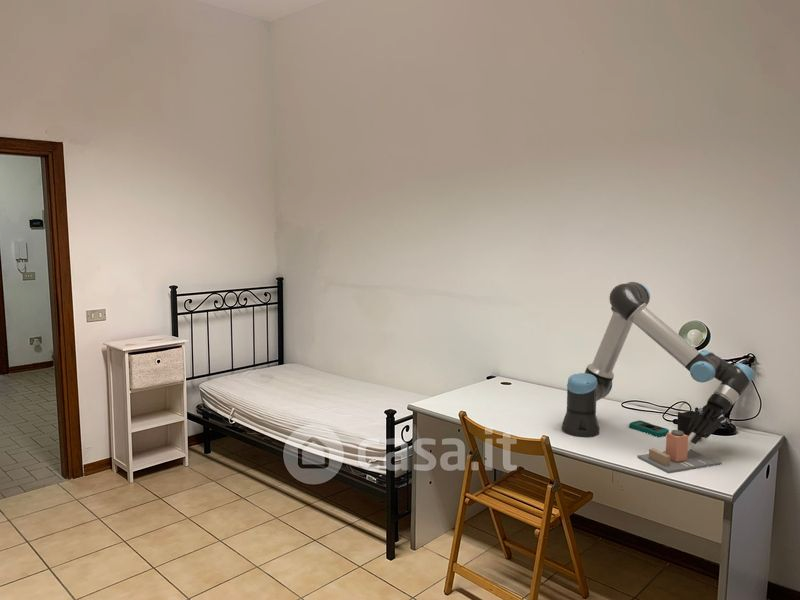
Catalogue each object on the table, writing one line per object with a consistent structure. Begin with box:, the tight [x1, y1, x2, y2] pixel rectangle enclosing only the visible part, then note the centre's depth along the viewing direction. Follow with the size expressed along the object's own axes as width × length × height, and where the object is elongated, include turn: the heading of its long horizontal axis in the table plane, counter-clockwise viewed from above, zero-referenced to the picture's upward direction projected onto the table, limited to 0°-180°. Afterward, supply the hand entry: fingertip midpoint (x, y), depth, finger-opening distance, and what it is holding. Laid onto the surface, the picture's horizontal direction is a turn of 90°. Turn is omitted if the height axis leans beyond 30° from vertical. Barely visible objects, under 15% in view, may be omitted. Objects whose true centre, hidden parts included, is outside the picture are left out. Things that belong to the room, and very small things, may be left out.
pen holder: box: [676, 410, 702, 441], centre depth 234 cm, size 9×9×10 cm
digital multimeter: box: [628, 419, 670, 438], centre depth 243 cm, size 7×15×3 cm, turn 31°
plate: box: [636, 448, 722, 474], centre depth 210 cm, size 24×15×4 cm, turn 109°
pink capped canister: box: [665, 429, 688, 462], centre depth 210 cm, size 5×5×10 cm
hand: (684, 448), depth 211 cm, fingers closed
